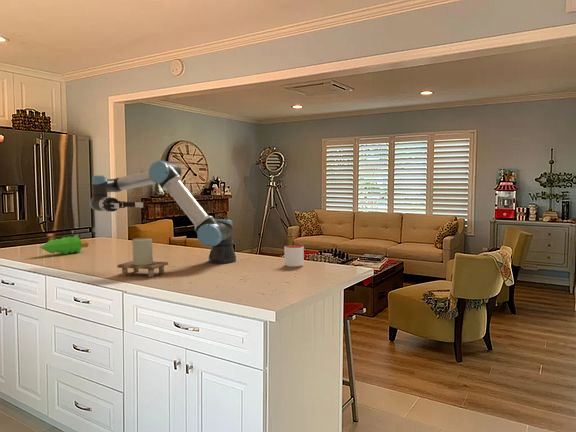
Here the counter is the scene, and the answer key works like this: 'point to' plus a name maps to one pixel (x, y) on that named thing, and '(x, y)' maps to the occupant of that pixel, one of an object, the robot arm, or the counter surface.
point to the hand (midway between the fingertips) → (130, 205)
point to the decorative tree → (65, 245)
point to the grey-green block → (142, 251)
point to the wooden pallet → (142, 267)
